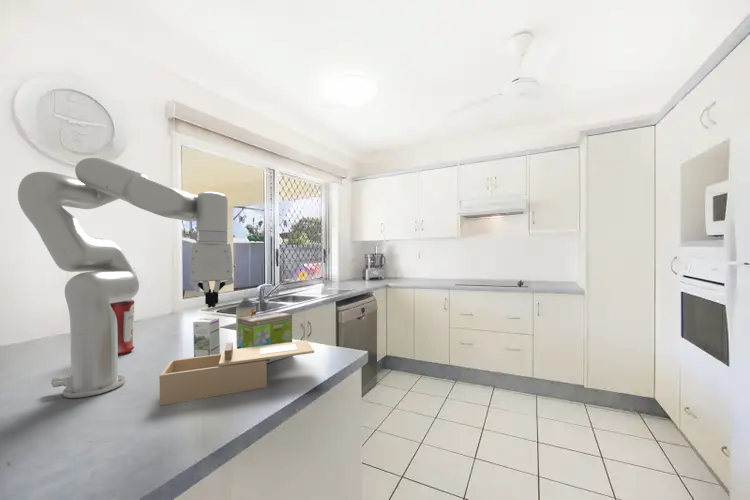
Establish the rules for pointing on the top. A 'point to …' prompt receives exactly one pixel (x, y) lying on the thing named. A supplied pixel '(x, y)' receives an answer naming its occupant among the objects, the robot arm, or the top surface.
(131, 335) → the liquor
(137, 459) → the top surface
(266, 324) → the tea box
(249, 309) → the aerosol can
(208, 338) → the syrup box
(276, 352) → the mailer lid
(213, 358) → the mailer box
